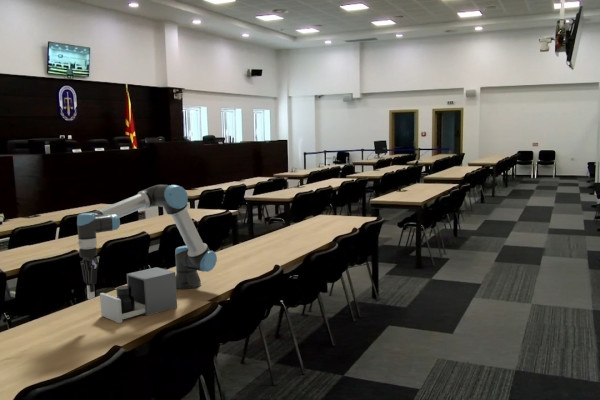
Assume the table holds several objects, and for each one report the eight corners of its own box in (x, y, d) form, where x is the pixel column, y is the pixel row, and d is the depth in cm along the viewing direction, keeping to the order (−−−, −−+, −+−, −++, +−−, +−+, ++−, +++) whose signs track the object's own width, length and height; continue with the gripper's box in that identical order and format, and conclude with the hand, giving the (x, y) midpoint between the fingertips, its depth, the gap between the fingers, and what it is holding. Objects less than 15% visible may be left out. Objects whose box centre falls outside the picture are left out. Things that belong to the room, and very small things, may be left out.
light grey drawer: (133, 306, 270) (132, 285, 268) (152, 313, 258) (150, 291, 257) (101, 315, 257) (99, 293, 256) (119, 323, 246) (117, 300, 244)
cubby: (158, 300, 280) (156, 267, 278) (177, 306, 269) (175, 272, 267) (128, 308, 268) (126, 273, 266) (147, 315, 256) (144, 279, 254)
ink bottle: (135, 307, 263) (134, 284, 261) (135, 313, 254) (134, 288, 253) (115, 310, 260) (113, 286, 259) (114, 315, 252) (112, 290, 250)
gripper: (73, 247, 243) (76, 297, 246) (86, 250, 234) (90, 303, 237) (89, 244, 249) (92, 294, 251) (102, 247, 240) (106, 299, 242)
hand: (91, 298), depth 244 cm, fingers closed
